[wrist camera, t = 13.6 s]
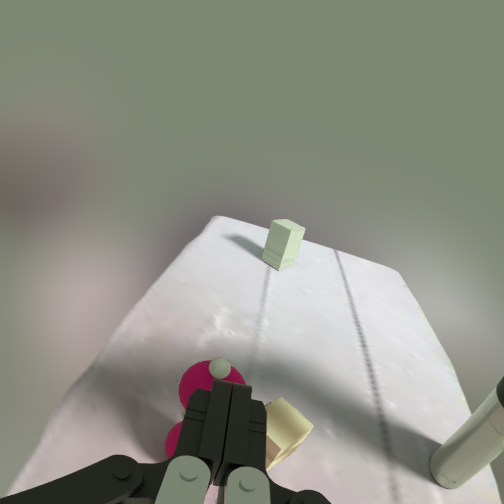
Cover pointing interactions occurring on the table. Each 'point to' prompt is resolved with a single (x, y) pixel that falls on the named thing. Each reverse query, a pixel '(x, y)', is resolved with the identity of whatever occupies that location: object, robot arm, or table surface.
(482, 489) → the table surface
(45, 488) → the robot arm
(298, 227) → the supplement box
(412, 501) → the table surface
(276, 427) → the pale yellow cube-like block
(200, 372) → the pepper mill
